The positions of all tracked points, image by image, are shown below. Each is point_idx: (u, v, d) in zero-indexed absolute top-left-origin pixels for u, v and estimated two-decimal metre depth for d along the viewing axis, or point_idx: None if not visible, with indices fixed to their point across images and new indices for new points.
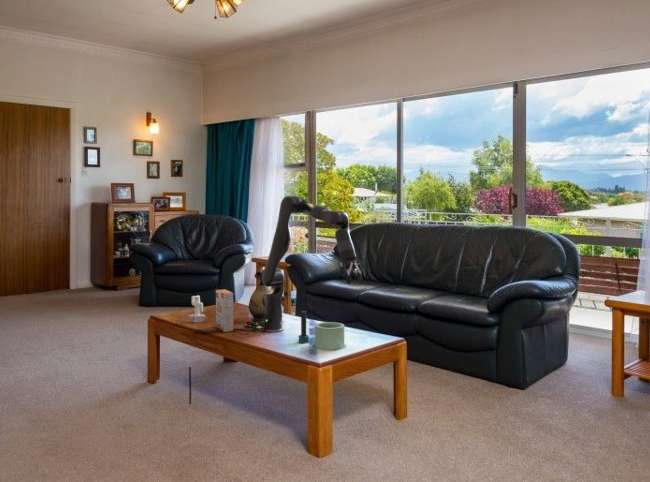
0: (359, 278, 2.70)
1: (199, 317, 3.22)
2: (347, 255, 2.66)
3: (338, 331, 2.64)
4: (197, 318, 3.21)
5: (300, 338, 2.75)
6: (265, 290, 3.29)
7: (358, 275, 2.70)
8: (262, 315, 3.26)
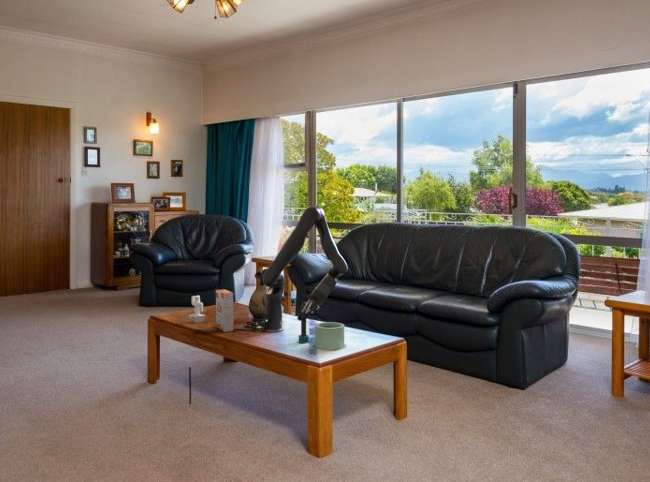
0: None
1: (199, 317, 3.22)
2: (323, 301, 2.80)
3: (338, 331, 2.64)
4: (197, 318, 3.21)
5: (300, 338, 2.75)
6: (265, 290, 3.29)
7: None
8: (262, 315, 3.26)
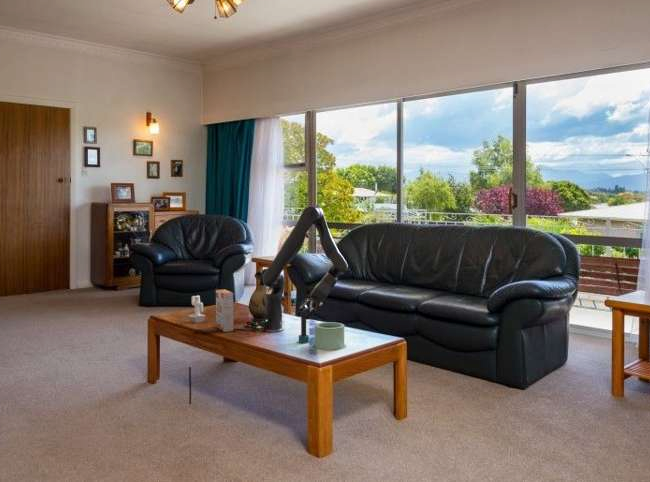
0: (299, 313, 2.81)
1: (199, 317, 3.22)
2: (323, 300, 2.80)
3: (338, 331, 2.64)
4: (197, 318, 3.21)
5: (300, 338, 2.75)
6: (265, 290, 3.29)
7: (301, 310, 2.81)
8: (262, 315, 3.26)
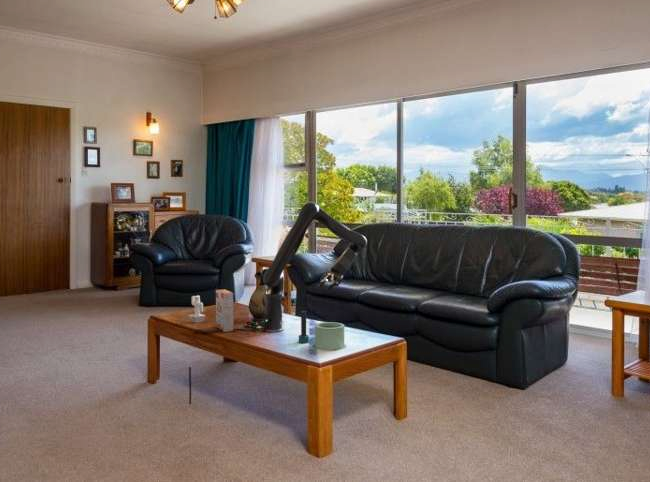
0: (321, 286, 2.88)
1: (199, 317, 3.22)
2: (343, 274, 2.88)
3: (338, 331, 2.64)
4: (197, 318, 3.21)
5: (300, 338, 2.75)
6: (265, 290, 3.29)
7: (322, 284, 2.89)
8: (262, 315, 3.26)
